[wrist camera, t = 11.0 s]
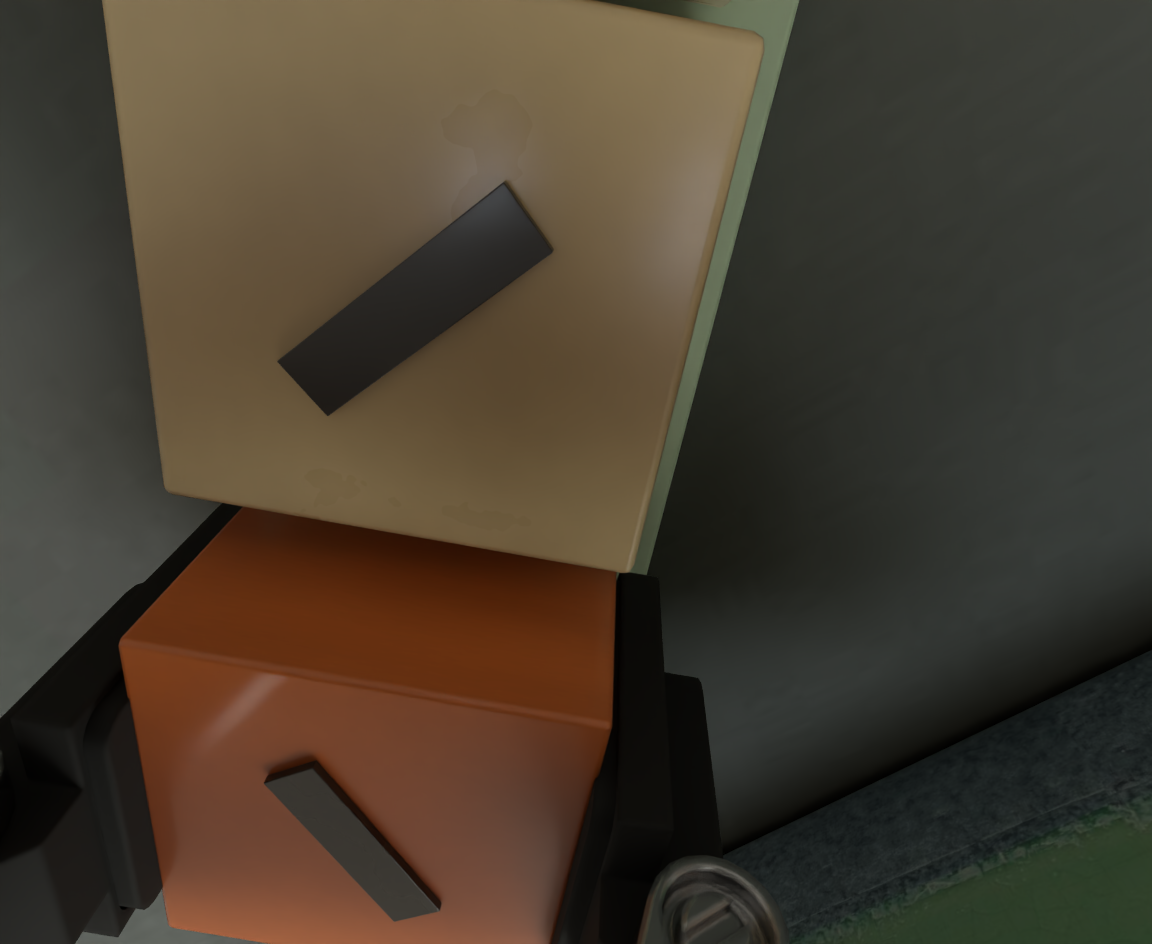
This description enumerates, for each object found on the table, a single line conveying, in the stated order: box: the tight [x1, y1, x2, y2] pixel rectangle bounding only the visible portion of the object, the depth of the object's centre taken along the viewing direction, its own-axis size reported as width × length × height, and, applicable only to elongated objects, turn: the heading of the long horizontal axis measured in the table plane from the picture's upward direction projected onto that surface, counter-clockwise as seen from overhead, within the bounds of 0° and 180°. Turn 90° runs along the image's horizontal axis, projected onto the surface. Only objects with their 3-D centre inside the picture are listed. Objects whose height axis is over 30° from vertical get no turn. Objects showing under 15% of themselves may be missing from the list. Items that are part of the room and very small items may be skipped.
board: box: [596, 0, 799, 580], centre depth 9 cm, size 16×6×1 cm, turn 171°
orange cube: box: [119, 507, 617, 944], centre depth 9 cm, size 4×4×4 cm
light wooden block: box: [102, 0, 765, 573], centre depth 7 cm, size 4×4×4 cm
